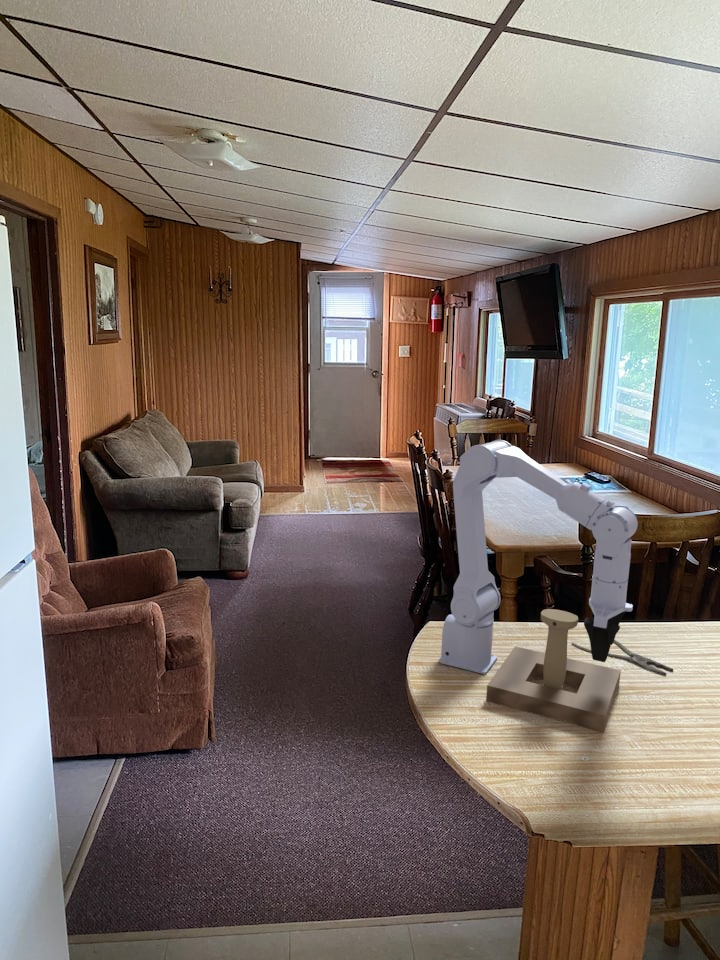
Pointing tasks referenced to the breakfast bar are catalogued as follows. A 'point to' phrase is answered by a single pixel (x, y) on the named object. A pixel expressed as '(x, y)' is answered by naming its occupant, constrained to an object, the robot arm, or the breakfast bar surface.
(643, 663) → the pliers
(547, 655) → the handle
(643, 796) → the breakfast bar surface
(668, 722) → the breakfast bar surface
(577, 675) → the socket plate
